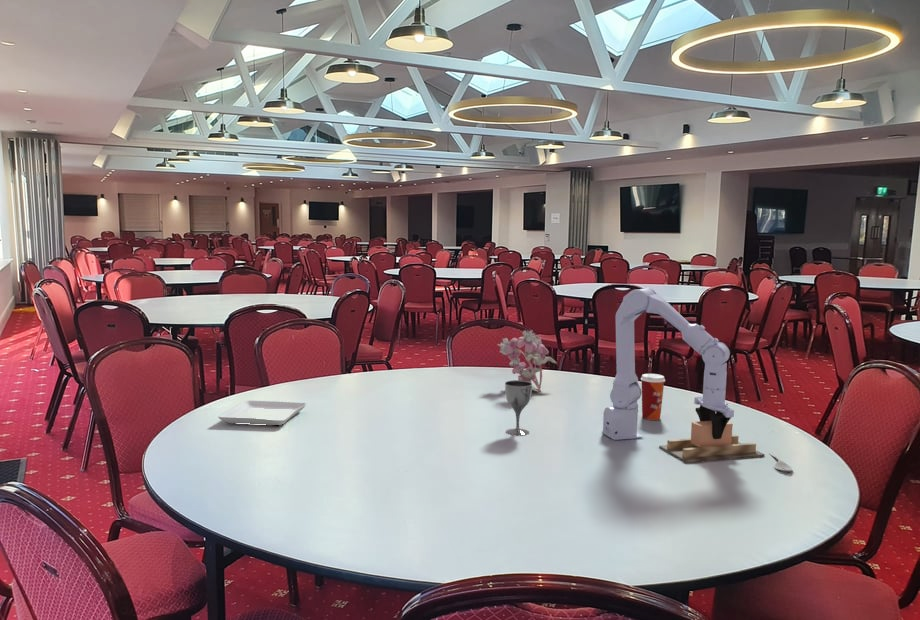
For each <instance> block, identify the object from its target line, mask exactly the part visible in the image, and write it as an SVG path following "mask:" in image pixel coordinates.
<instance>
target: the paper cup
mask: <svg viewBox="0 0 920 620" xmlns="http://www.w3.org/2000/svg"><path fill="white" fill-rule="evenodd" d="M640 380H641V416H642V419H644V418H646V419H645V420H647V419H651V420H650V421H658V419H659V420H660V419H661V414H662V408H663V407H662V406H663V396H664V389H665V388H664V387H665V382H666V379H665V376H664V375H662V374H657V373H644V374H643V373H642V375H641V377H640Z"/></svg>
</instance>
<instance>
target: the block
mask: <svg viewBox="0 0 920 620" xmlns="http://www.w3.org/2000/svg"><path fill="white" fill-rule="evenodd" d="M732 435H733V423H732V422H729V421H728V423H727V424H726V426H725V429H724V431H723V434H722V437H721V439H713V435H712V422H711V421H700V420H699V421H692V422H691V431H690V438H691V444H693V445H695V446H697V447H707V446H719V445H731V442H732Z"/></svg>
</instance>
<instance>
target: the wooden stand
mask: <svg viewBox="0 0 920 620" xmlns="http://www.w3.org/2000/svg"><path fill="white" fill-rule="evenodd" d="M666 442H667V443H666V444H663V445H662V444H661V445H659V449H661V450H662V449H663V450H662V451H664V452H666V453H668V454H669V455H671V456H673V457H675V458H676V459H678V460H679V461H682V462H683V463H685V464H696V463H704V462H705V463H707V462H717V461H718V462H719V461H729V460H731V461H732V460H739V459H750V458H751V459H752V458H762V457H765V456H766V454H764V453H763V452H760V451H758V450H757V444H756V443H755V442H745V443H741V442H739V436H738V435H737V434H732V442H731V445H719V446H707V447H697V446H695V445H693V444H691V437H690V438H678V439H667V441H666Z"/></svg>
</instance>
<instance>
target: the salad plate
mask: <svg viewBox="0 0 920 620" xmlns="http://www.w3.org/2000/svg"><path fill="white" fill-rule="evenodd" d="M306 405H307V403H305V402H292V401H278V400H277V401H276V400H275V401H274V400H273V401H271V400H245V401H243V402H241V403H240V404H237V405H236V406H234V407H232V408H229V410H226V411H225V412H224V413H221V414H220V415H219V416H218V419H219V420H221V421H222V422H225V423H227V422H228V424H233V423H250V424H266V425H279V426H282V424H283V425H284V424H285V423H287V421H289V420H290V419H291V418H293V417H294V416H295V415H297V414H298V413H299V412H300V411H302V410H303V409H304V408H305V407H306ZM250 408H264V409H292V410H295V411H294V412H293V413H292V414H291V415H290V416H289V417H287V418H286V419H284V420H267V419H256V418H236V417H237V416H239V415H240V414H242V413H244V412H246V411H247V410H248V409H250ZM296 413H297V414H296Z"/></svg>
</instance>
